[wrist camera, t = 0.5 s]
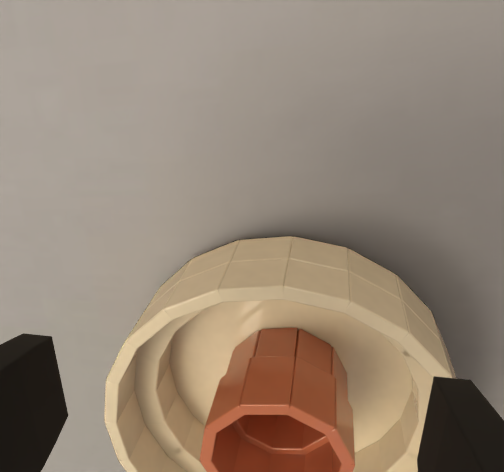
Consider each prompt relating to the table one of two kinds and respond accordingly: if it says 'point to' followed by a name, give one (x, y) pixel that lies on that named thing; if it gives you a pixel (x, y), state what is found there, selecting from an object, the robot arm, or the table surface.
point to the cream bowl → (274, 316)
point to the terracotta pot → (281, 408)
